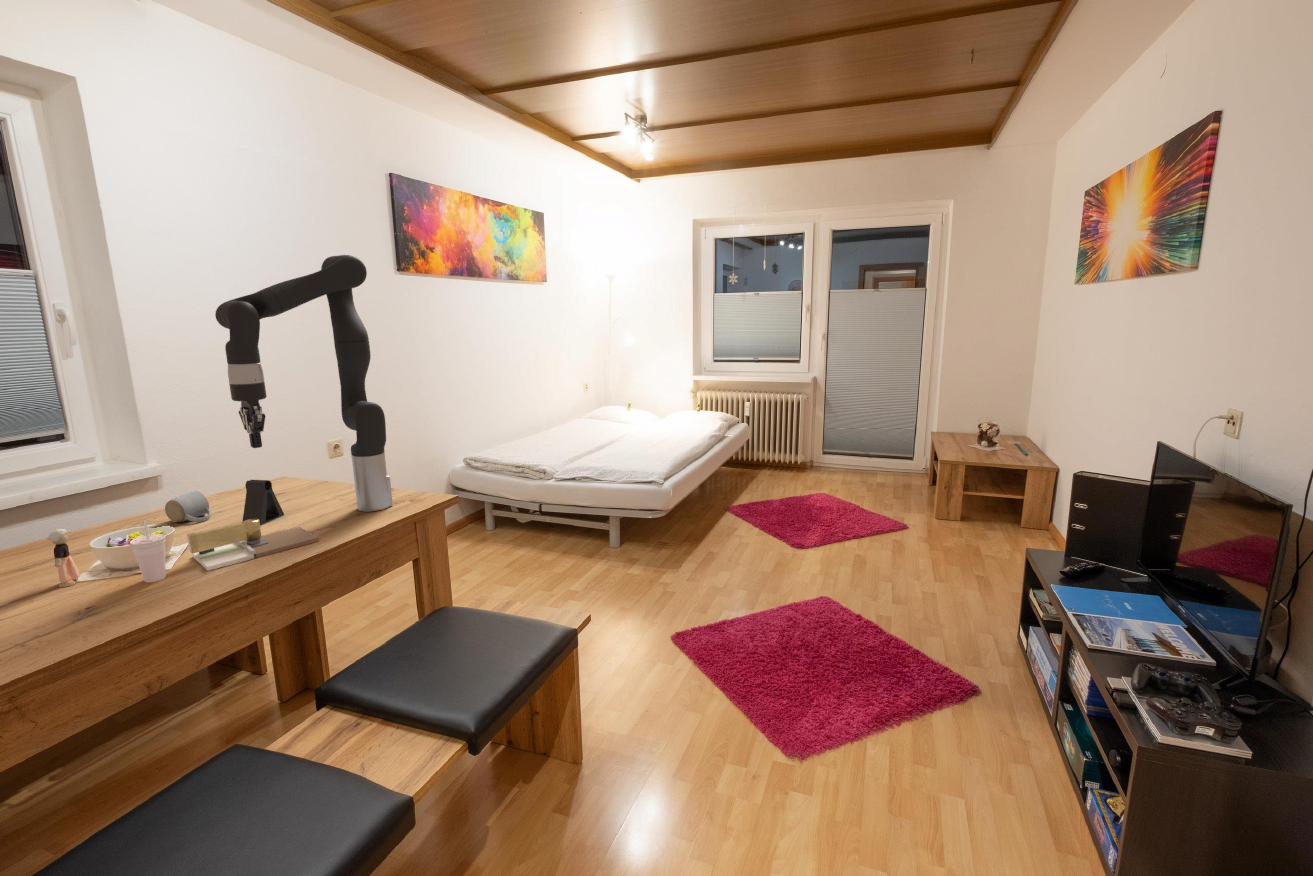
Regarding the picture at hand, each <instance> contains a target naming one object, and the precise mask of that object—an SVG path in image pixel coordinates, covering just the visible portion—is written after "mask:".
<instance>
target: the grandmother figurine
mask: <svg viewBox="0 0 1313 876" xmlns="http://www.w3.org/2000/svg"><path fill="white" fill-rule="evenodd" d="M46 540H47V541H51V542H52V543H53V544H54V548H53V556H54V567H55V568H57V572H58V580H59V584H58V587H59V588H63V587H70V586H75V584H76V582H77V581H78V579H79V578H80V577H81V574H80V571H79V569H78V567H77V565H76V563H75V562H74V560H73V558H72V556H71V554H70V551H69V550H70V549H69V545H68V544H67V542H68V540H69V537H68V531H67V529H64V528H57V529H53V530H52V531H51V532H50V533H49V534H48V536H47V538H46Z"/></svg>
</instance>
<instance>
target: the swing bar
mask: <svg viewBox="0 0 1313 876" xmlns="http://www.w3.org/2000/svg"><path fill="white" fill-rule="evenodd" d="M242 521H243V520H242ZM242 521H240V522H237V523H233V524H228V525H223V526H219V527H215V528H211V529H206V530H201V531H197V532H191V533H190V532H189V533H186V537H187V543H188V550H189V552H190V554H193V553H197V552H201V551H205V550H209V549H213V548H217V547H221V546H225V545H229V544H233V543H237V542H241V541H245V540H246V541H251V540H257V539H259V538H261V537H262V536H263V535H262V531H261V525H260V522H259V519H249V520H245V521H243V522H242Z"/></svg>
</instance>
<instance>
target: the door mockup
mask: <svg viewBox="0 0 1313 876" xmlns="http://www.w3.org/2000/svg"><path fill="white" fill-rule="evenodd" d="M261 536H262V537H261V538H259V539H257V540H251V541H246V540H245V541H241V542H237V543H233V544H229V545H225V546H221V547H217V548H213V549H209V550H205V551H201V552H197V553H193V554H192V553H191V554H192V558H193V559H194V560H196V561H197V562H198V563H199V565H201V566H202V567H203V568H204V569H205V570H206V571H212V570H216V569H220V568H223V567H227V566H231V565H235V564H239V563H242V562H243V563H244V562H245V561H250V560H253V559H255V558H256V559H257V558H261V557H265V556H268V555H272V554H276V553H279V552H280V553H281V552H283V551H287V550H290V549H293V548H298V547H301V546H305V545H309V544H313V543H317V542H320V540H319V539H320V538H319V537H318V536H317V535H315V534H313V533H311V532H310V531H308V530H306V529H305V528H303V527H301V526H297V527H293V528H288V529H285V530H281V531H276V532H272V533H269V534H265V535H264V534H263V535H261Z"/></svg>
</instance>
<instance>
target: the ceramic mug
mask: <svg viewBox="0 0 1313 876" xmlns="http://www.w3.org/2000/svg"><path fill="white" fill-rule="evenodd" d="M164 511H165V514H166V516H167V518H168V519H169V520H171V521H172V522H174V523H183V522H187V521H190V522H193V523H204V522H207V521H208V520H210V518H211V510H210V504H209V500H208V498H207V496H205V495H204V494H203V493H202V492H201V491H198V490H193V491H189V492H186V493H185V494H182V495H180V496H176V497H174V498H172V499H170V500H169V501H167V502H166V503H165V506H164ZM205 515H206V516H205ZM202 516H203V517H202Z"/></svg>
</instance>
